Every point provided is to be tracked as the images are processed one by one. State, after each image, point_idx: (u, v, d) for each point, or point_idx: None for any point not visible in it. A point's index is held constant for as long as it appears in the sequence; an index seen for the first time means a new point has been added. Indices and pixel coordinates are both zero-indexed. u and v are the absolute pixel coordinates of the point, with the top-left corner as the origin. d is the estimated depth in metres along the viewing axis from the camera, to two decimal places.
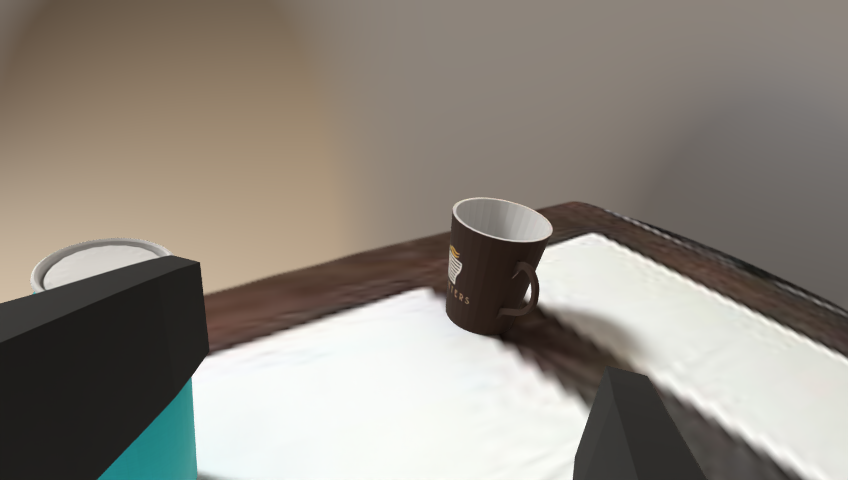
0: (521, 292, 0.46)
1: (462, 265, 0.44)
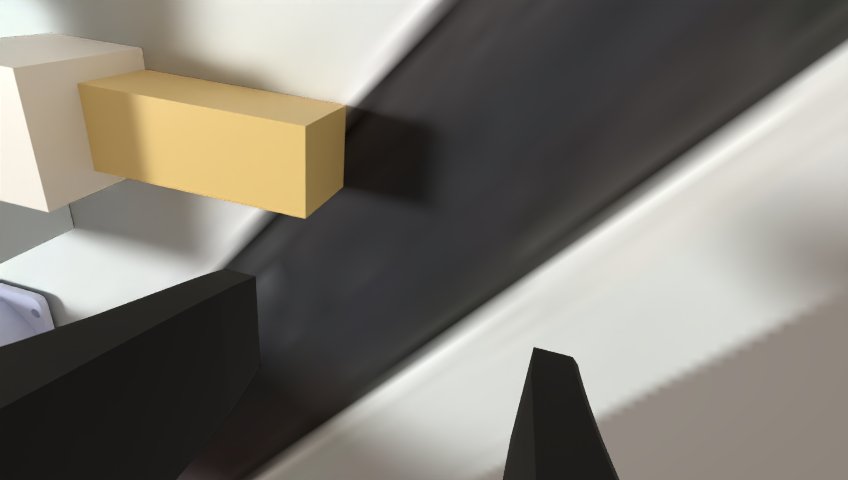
0: None
1: None
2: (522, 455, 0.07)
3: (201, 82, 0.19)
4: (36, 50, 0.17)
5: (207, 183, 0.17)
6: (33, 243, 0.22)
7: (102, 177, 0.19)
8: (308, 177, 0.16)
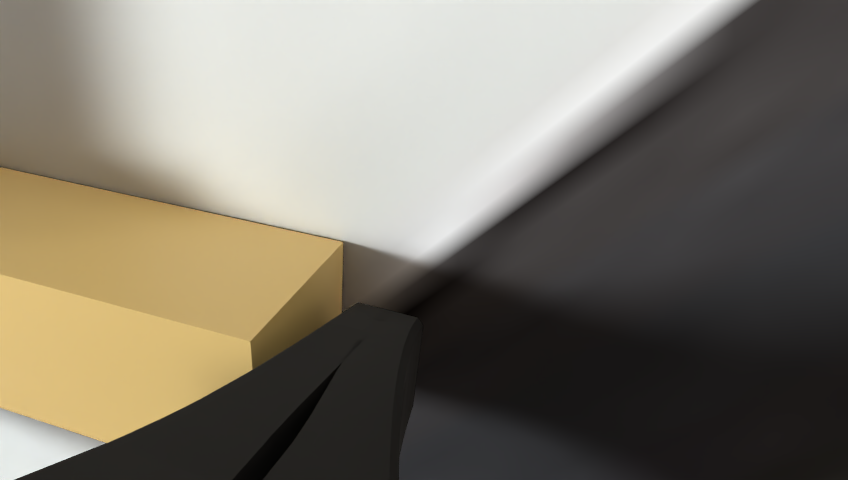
0: None
1: None
2: None
3: (76, 194, 0.10)
4: None
5: (69, 412, 0.09)
6: None
7: None
8: None
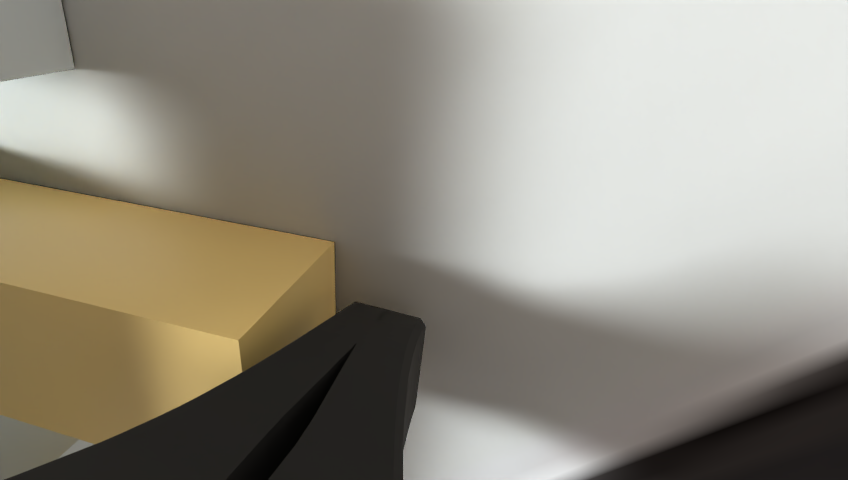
0: None
1: None
2: None
3: (71, 202, 0.10)
4: None
5: (66, 417, 0.09)
6: None
7: None
8: None
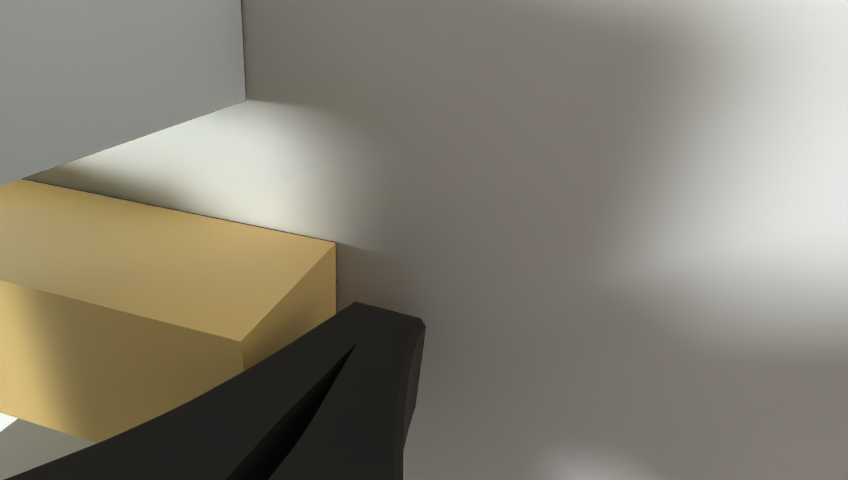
0: None
1: None
2: None
3: (72, 199, 0.10)
4: None
5: (66, 415, 0.09)
6: None
7: None
8: None
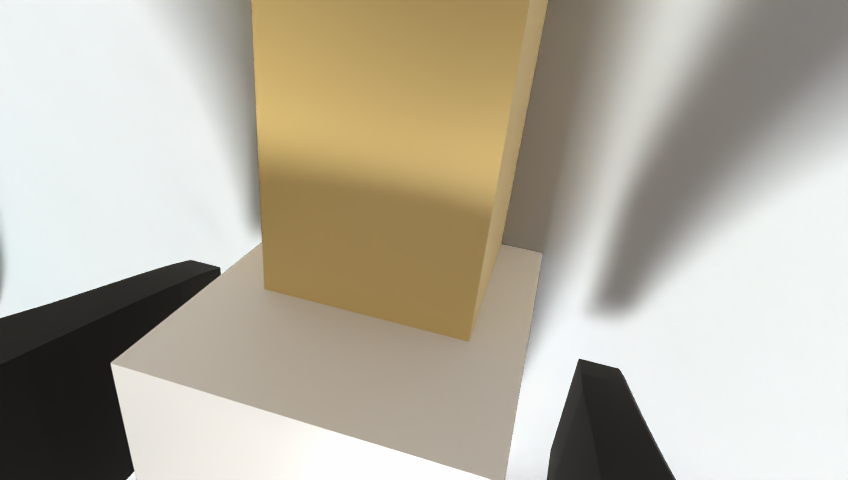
0: None
1: None
2: (577, 471, 0.07)
3: None
4: None
5: None
6: None
7: (496, 336, 0.07)
8: None
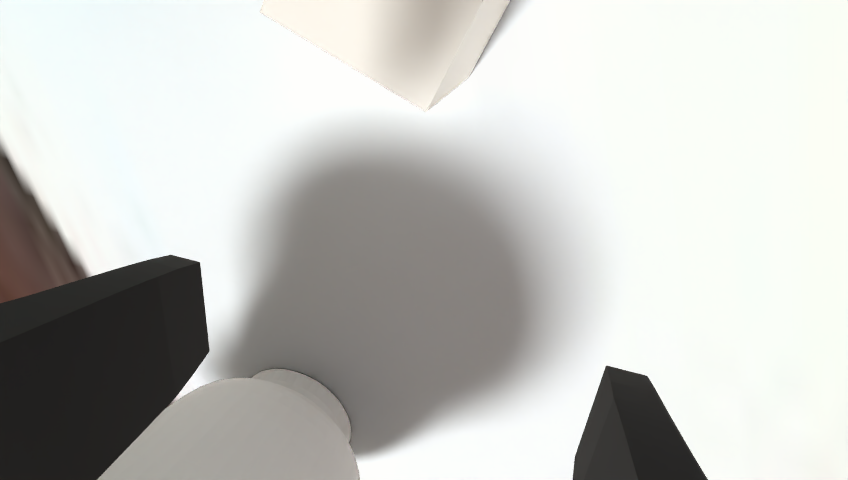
0: None
1: None
2: None
3: None
4: None
5: None
6: None
7: None
8: None
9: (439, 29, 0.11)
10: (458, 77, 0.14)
